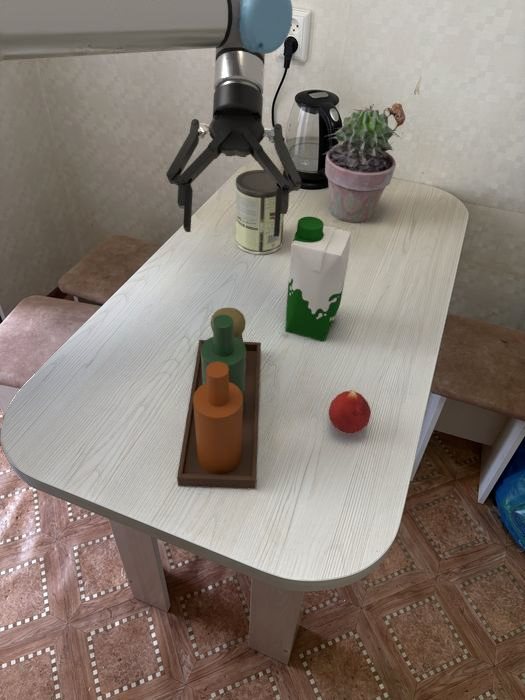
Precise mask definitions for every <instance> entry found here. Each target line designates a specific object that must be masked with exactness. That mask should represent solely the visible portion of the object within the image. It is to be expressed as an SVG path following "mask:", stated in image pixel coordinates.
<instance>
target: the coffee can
mask: <svg viewBox="0 0 525 700" xmlns="http://www.w3.org/2000/svg"><path fill="white" fill-rule="evenodd" d="M285 179H286V177H285ZM286 180H287V179H286ZM277 189H278V188H277V186H276V185H275V184H274V183H273V181H272V180H271V179H270V177H269V176H268V175H267V174H266V172H265V171H264V170H263V169H253V170H252V169H251V170H247V171H243V172H242V173H240V174H239V175H237V177H236V178H235V195H236V196H235V198H236V199H235V204H236V205H235V211H236V212H235V227H236V228H235V231H236V232H235V245H236V246H237V247H238V248H239V249H240V250H241V251H243V252H245V253H248V254H252V255H259V256H260V255H269V254H273V253H276V252H278V251H279V250H280V249H281V248H282V246H283V234H284V221H285V214H280V233H279V237H277V236H274V223H275V201H276V190H277Z"/></svg>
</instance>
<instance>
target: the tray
mask: <svg viewBox="0 0 525 700" xmlns="http://www.w3.org/2000/svg"><path fill="white" fill-rule="evenodd" d="M206 340H207V339H199V340H198V346H197V352H196V359H195V364H194V371H193V375H192V376H193V377H192V383H191V389H190V394H189V402H188V406H187V413H186V420H185V426H184V432H183V439H182V444H181V449H180V450H181V451H180V457H179V463H178V468H177V469H178V470H177V475H176V481H177V486H178V487H192V488H193V487H194V488H217V489H218V488H219V489H243V490H244V489H246V490H256V489H257V474H258V473H257V472H258V470H257V468H258V440H259V436H258V435H259V414H260V413H259V410H260V383H261V382H260V380H261V379H260V377H261V376H260V375H261V350H262V349H261V347H262V346H261V345H262V343H261V342H260V341H259V342H258V341H243V343H244V345H245V347H246V363H247V370H246V372H245V406H244V412H243V421H242V457H241V461H240V463H239V465H238V466H237V467H236V468H235V469H234V470H233V471H231V472H229V473H226V474H212V473H209V472H207V471H206V470H204V469H203V468H202V467H201V465H200V464H199V461H198V454H197V442H196V429H195V416H194V404H193V397H194V394H195V392H196V390H197V389H198V388H199V387H200V386H201V385H203V380H202V363H201V347H202V345H203V343H204V342H205V341H206Z"/></svg>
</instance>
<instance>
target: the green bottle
mask: <svg viewBox="0 0 525 700" xmlns="http://www.w3.org/2000/svg"><path fill="white" fill-rule="evenodd" d="M205 340H206V341H205V342H204V343H203V345H202V347H201V363H202V380H203V384H204V383H207V381H206V368H207V366H208V365H209V364H210V363H212V362H223V363H225V364H226V365H227V366H228V368H229V382H231V383H233V384H235V385H236V386H237V387H238V388H239V389H240V390H241V392H242V395H243V412H244V406H245V370H246V347H245V345H244V343H243V342H244V341H243V342H242V341H241V340H240V339H238V338H236V337H234V336H233V319H232V318H231V317H230V316H228V315H218V316H216V317H215V318H214V319H213V331H212V336H211V337H209V338H208V339H205Z"/></svg>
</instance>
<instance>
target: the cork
mask: <svg viewBox="0 0 525 700" xmlns="http://www.w3.org/2000/svg"><path fill="white" fill-rule="evenodd" d="M218 315H228V316H230V317H231V318H232V319H233V336H234V337H236V338H238V339H240V340H241V341H242V342H244V338H243V333H244V331H245V329H246V318H245V315H244V314H243V312H241V310H239V309H238V308H234V307H228V306H227V307H222V308H219V309H217V310H216V311H215V312H213V314H212V315H211V318H210V328H211V331H212V332H213V319H214V318H215V317H216V316H218ZM246 370H247V363H246ZM246 370H245V372H246Z"/></svg>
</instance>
